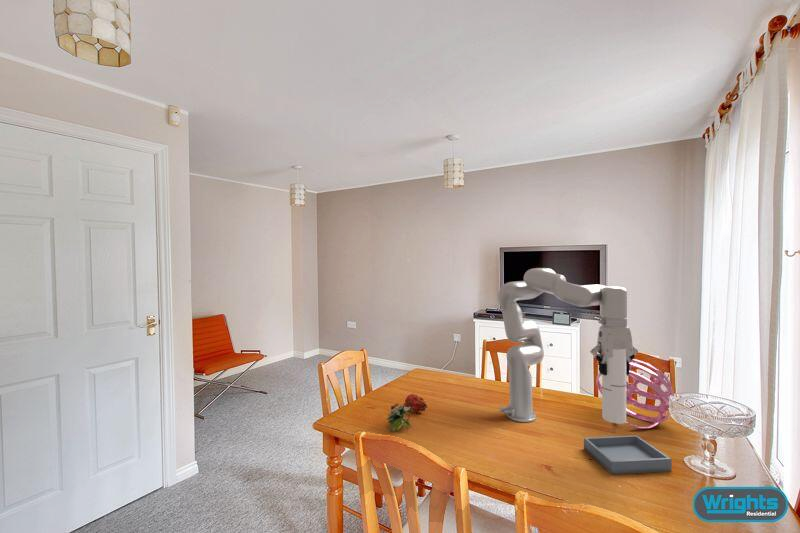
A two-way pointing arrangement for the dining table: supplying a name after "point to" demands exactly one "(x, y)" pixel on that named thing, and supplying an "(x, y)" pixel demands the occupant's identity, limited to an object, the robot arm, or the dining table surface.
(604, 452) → the tray
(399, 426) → the green leafy plant
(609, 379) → the cylindrical container
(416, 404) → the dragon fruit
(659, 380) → the spiral basket
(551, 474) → the dining table surface
